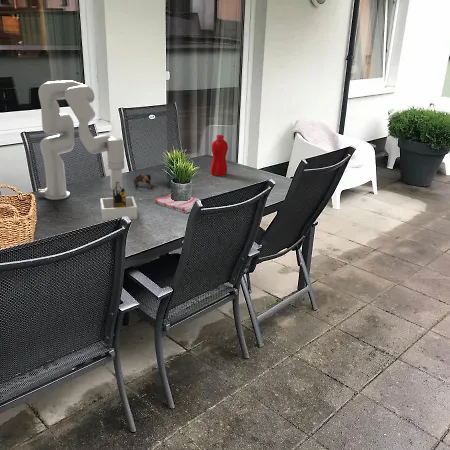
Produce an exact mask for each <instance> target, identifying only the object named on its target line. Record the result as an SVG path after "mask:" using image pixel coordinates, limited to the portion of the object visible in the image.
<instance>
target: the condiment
mask: <svg viewBox="0 0 450 450" xmlns="http://www.w3.org/2000/svg"><path fill="white" fill-rule="evenodd" d="M116 189H117V188H116ZM125 191H126V190H125V188H124V187H122V190H121V195H122V203H115V190H114V192H113V191H112V198H113V205H114V208H118V207H126V197H127V194H126V192H125ZM113 193H114V194H113Z"/></svg>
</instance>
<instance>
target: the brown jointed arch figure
mask: <svg viewBox="0 0 450 450" xmlns="http://www.w3.org/2000/svg"><path fill="white" fill-rule="evenodd" d="M151 180H152V177H151V175H150V174H149V173H146V174H144V173H141V174H139V175H137V176H136V177H135V178H133V180H132V182H133V185H134V186H139V182H140V183H144V182H145V184H147V185H146V186H147V188H148V189H150V188H151V187H152V184H151Z"/></svg>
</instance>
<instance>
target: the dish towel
mask: <svg viewBox="0 0 450 450" xmlns="http://www.w3.org/2000/svg"><path fill="white" fill-rule="evenodd" d="M171 194H172V193H170V194H168V195H165V196H163V197H157V198H156V197H155V199H154V202H155V204H156V203H157V205H160V206H163V207H165V208H168V209H172V210H174V209H175V211H177V210H178V212H180V211H181V213H184V212H185V213H184V214H189V213H191V212H190V210H191V208H192V206H193V203H194V202H195V201H196V200H199V199H200V198H196V197H192V196H190V197H191V199H190V200H188V201H174V200H172V199H171Z"/></svg>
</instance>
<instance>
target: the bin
mask: <svg viewBox="0 0 450 450" xmlns="http://www.w3.org/2000/svg"><path fill="white" fill-rule="evenodd" d="M99 200H100V212H101V218H102V222H109V221H108V220H111V219H114V218H117V217H121V216H128V217H129V218H130V219H129V220H137V219H138V206H137V204H136V201H135V198H134V196H126V207H118V208H114V205H113V197H105V198H104V197H103V198H102V197H101V198H100V199H99Z"/></svg>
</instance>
